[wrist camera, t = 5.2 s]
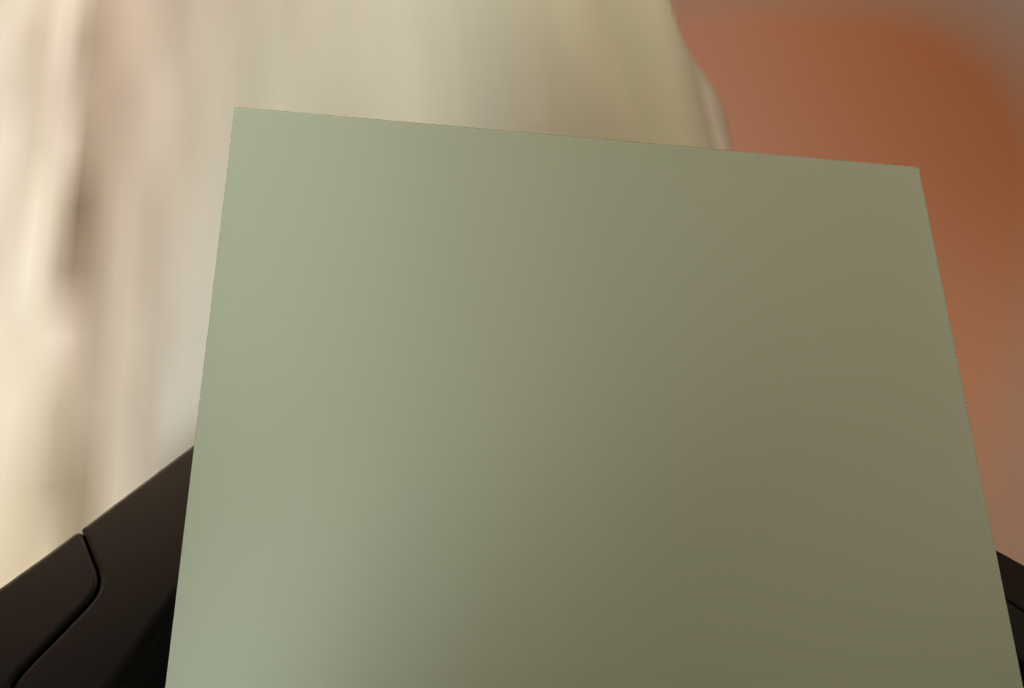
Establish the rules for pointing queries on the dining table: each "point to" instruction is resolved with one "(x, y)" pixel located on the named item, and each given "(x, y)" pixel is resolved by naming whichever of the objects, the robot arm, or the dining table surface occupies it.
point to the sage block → (577, 422)
